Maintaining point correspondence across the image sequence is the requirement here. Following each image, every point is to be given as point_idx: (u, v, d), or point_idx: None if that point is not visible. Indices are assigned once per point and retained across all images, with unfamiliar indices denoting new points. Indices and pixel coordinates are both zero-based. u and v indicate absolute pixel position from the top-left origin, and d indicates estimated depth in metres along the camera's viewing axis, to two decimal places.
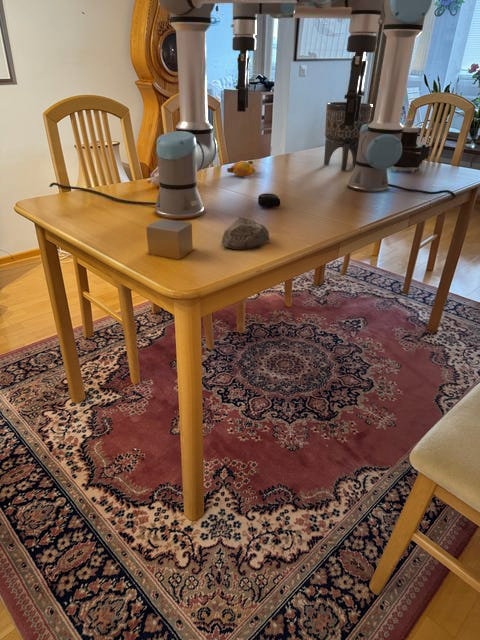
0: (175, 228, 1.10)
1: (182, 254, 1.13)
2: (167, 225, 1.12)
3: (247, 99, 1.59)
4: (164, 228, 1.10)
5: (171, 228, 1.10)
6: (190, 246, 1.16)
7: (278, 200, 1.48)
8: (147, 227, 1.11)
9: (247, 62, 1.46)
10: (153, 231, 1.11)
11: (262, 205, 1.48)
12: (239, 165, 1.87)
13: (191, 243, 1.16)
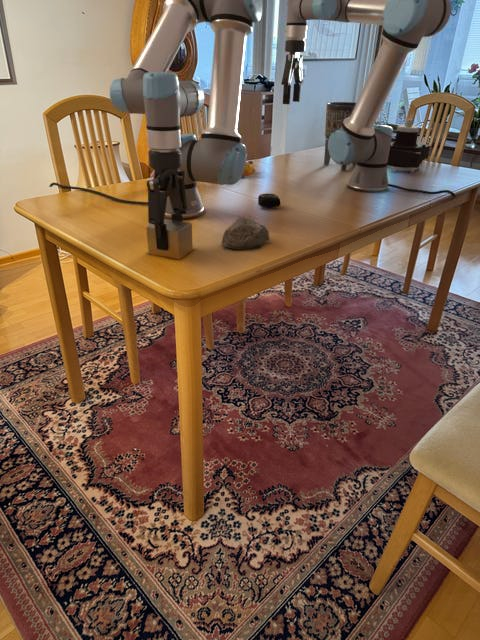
0: (175, 228, 1.10)
1: (182, 254, 1.13)
2: (167, 225, 1.12)
3: (299, 94, 1.82)
4: None
5: (171, 228, 1.10)
6: (190, 246, 1.16)
7: (278, 200, 1.48)
8: (147, 227, 1.11)
9: (295, 62, 1.69)
10: (153, 231, 1.11)
11: (262, 205, 1.48)
12: None
13: (191, 243, 1.16)
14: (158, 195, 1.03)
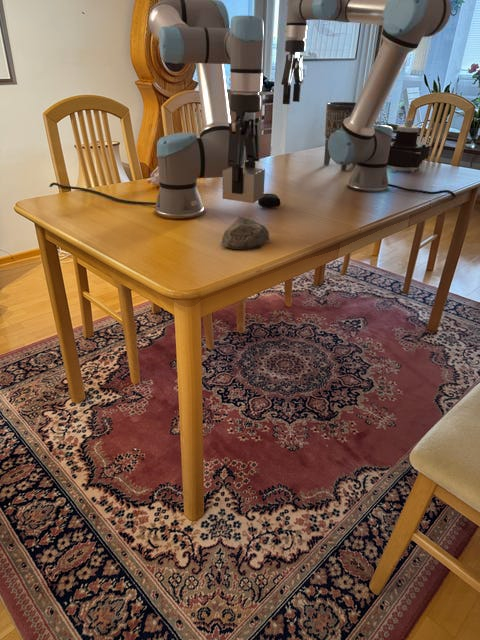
0: (251, 172, 1.15)
1: (255, 198, 1.17)
2: None
3: (299, 94, 1.82)
4: None
5: (247, 172, 1.15)
6: (262, 192, 1.21)
7: (278, 200, 1.48)
8: (223, 171, 1.16)
9: (295, 62, 1.69)
10: (229, 175, 1.16)
11: (262, 205, 1.48)
12: None
13: (263, 189, 1.21)
14: (239, 137, 1.08)
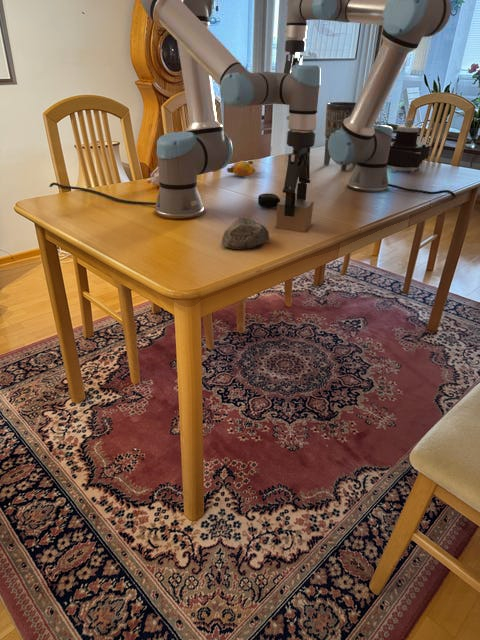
0: (303, 205, 1.29)
1: (306, 227, 1.32)
2: None
3: None
4: None
5: (300, 204, 1.30)
6: (310, 221, 1.35)
7: (278, 200, 1.48)
8: (278, 204, 1.30)
9: (295, 62, 1.69)
10: (283, 207, 1.30)
11: (262, 205, 1.48)
12: (239, 165, 1.87)
13: (311, 219, 1.35)
14: (296, 167, 1.20)
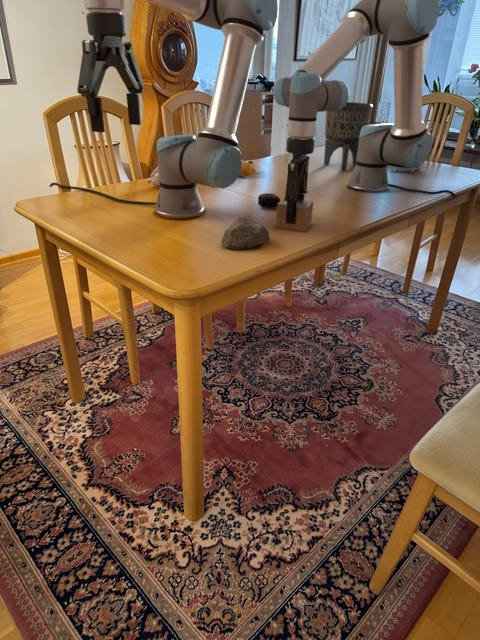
0: (303, 205, 1.29)
1: (306, 227, 1.32)
2: None
3: None
4: None
5: (300, 204, 1.30)
6: (310, 221, 1.35)
7: (278, 200, 1.48)
8: (278, 204, 1.30)
9: (301, 168, 1.24)
10: (283, 207, 1.30)
11: (262, 205, 1.48)
12: None
13: (311, 219, 1.35)
14: (94, 58, 0.88)
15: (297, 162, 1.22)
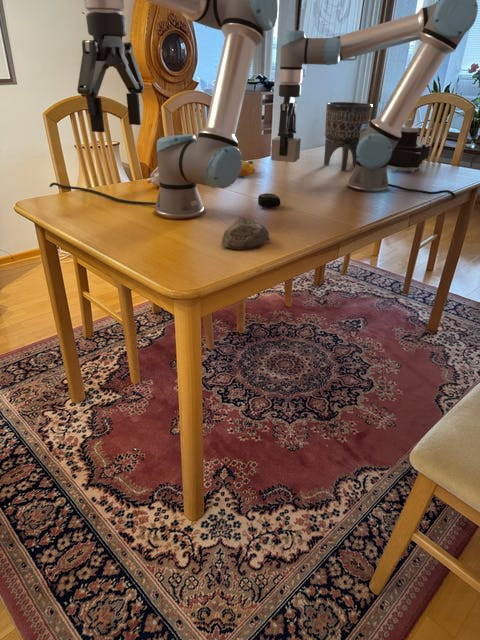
0: (292, 140, 1.62)
1: (295, 159, 1.65)
2: None
3: None
4: None
5: (290, 140, 1.62)
6: (298, 155, 1.68)
7: (278, 200, 1.48)
8: (272, 140, 1.63)
9: (290, 108, 1.57)
10: (276, 142, 1.63)
11: (262, 205, 1.48)
12: None
13: (299, 153, 1.68)
14: (94, 58, 0.88)
15: (287, 103, 1.55)
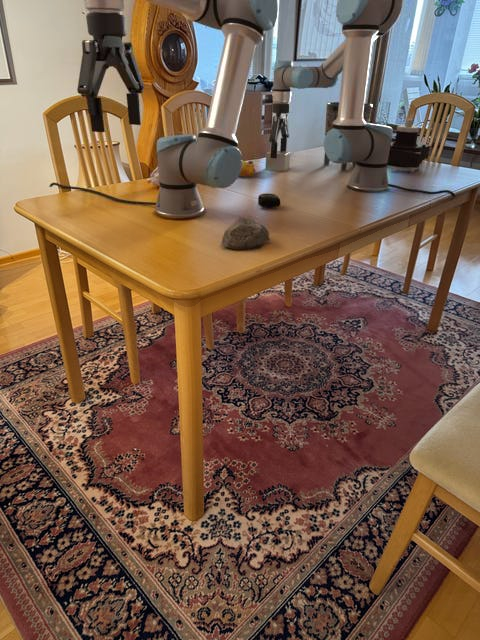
0: (283, 153, 1.98)
1: (285, 169, 2.01)
2: (277, 152, 2.00)
3: (285, 147, 2.04)
4: None
5: (280, 153, 1.98)
6: (288, 166, 2.04)
7: (278, 200, 1.48)
8: (266, 153, 1.99)
9: (281, 122, 1.91)
10: (270, 155, 1.99)
11: (262, 205, 1.48)
12: None
13: (288, 164, 2.04)
14: (94, 58, 0.88)
15: (279, 117, 1.90)
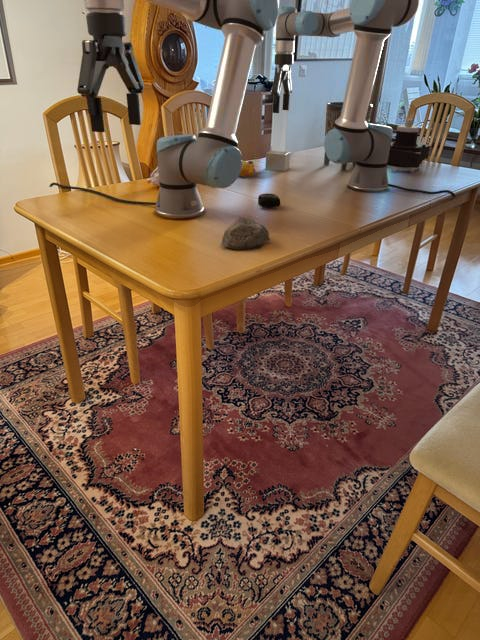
0: (283, 153, 1.98)
1: (285, 169, 2.01)
2: (277, 152, 2.00)
3: (288, 103, 1.96)
4: (276, 153, 1.98)
5: (280, 153, 1.98)
6: (288, 166, 2.04)
7: (278, 200, 1.48)
8: (266, 153, 1.99)
9: (284, 74, 1.82)
10: (270, 155, 1.99)
11: (262, 205, 1.48)
12: None
13: (288, 164, 2.04)
14: (94, 58, 0.88)
15: (281, 69, 1.81)
